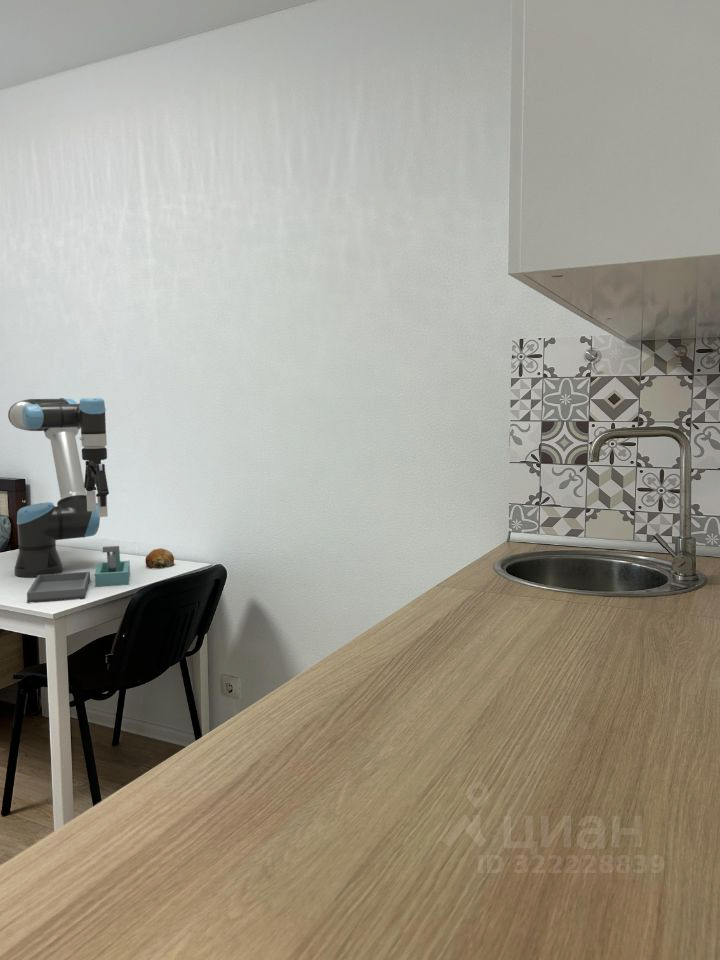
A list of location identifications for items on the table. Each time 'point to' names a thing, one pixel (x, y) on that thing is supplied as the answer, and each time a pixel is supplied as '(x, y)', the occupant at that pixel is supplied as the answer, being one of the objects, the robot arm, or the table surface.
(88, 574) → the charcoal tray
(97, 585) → the teal boxy piece
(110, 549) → the t stake
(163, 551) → the bread roll
